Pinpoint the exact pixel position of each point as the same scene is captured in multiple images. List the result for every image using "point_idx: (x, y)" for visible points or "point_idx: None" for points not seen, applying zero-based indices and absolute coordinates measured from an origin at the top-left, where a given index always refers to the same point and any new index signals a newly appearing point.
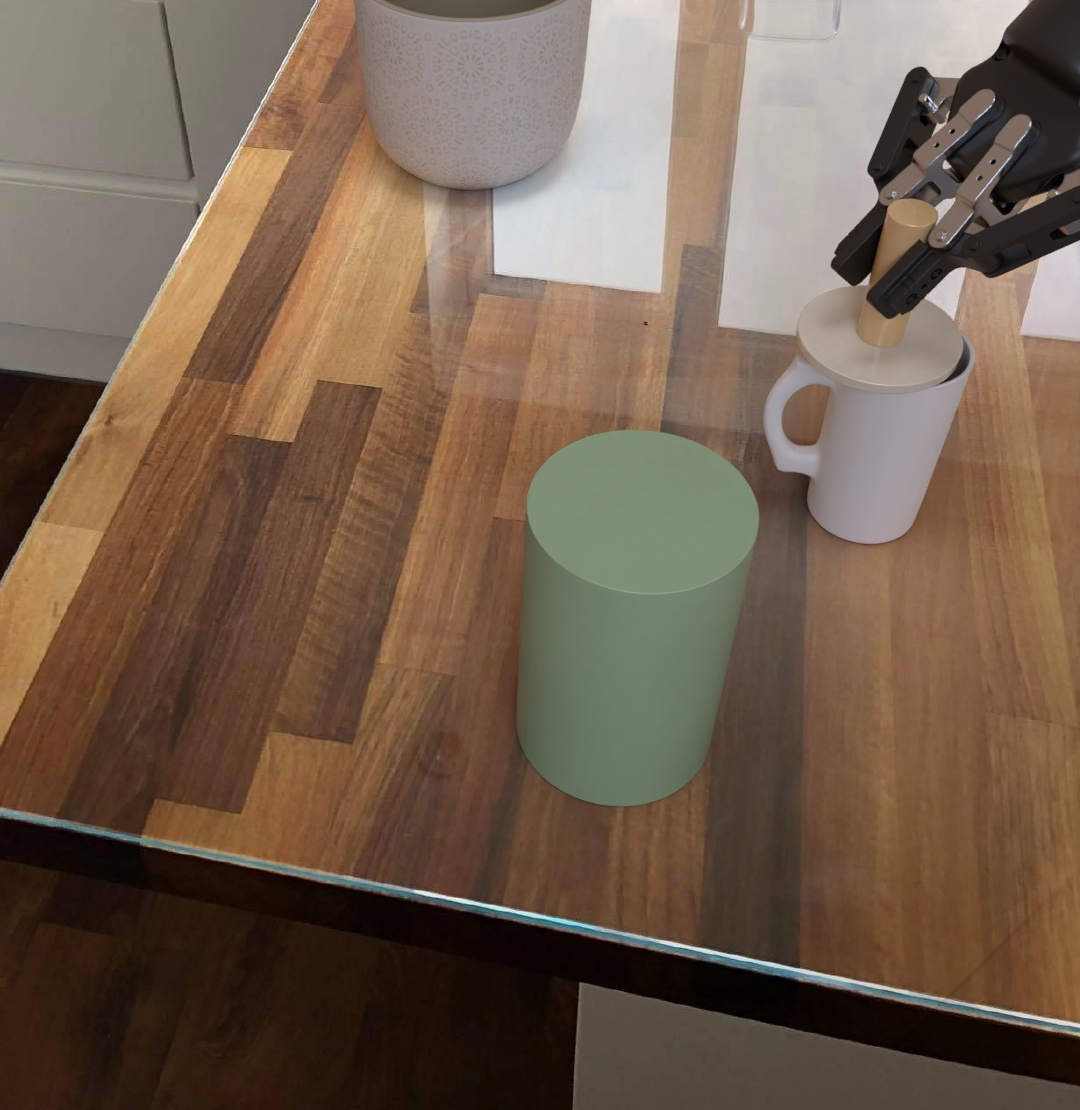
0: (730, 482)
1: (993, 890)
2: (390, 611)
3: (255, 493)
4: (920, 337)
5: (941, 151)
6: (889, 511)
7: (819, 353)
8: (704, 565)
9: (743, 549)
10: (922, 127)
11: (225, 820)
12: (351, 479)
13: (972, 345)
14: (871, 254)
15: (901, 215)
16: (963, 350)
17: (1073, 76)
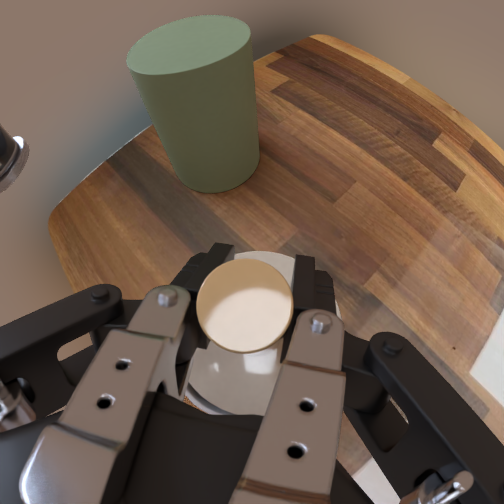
0: (163, 68)
1: (73, 231)
2: (322, 122)
3: (407, 121)
4: (226, 361)
5: (279, 399)
6: None
7: (268, 258)
8: (138, 48)
9: (129, 61)
10: (415, 472)
11: (265, 63)
12: (403, 149)
13: (199, 407)
14: None
15: (248, 278)
16: (208, 405)
17: None
